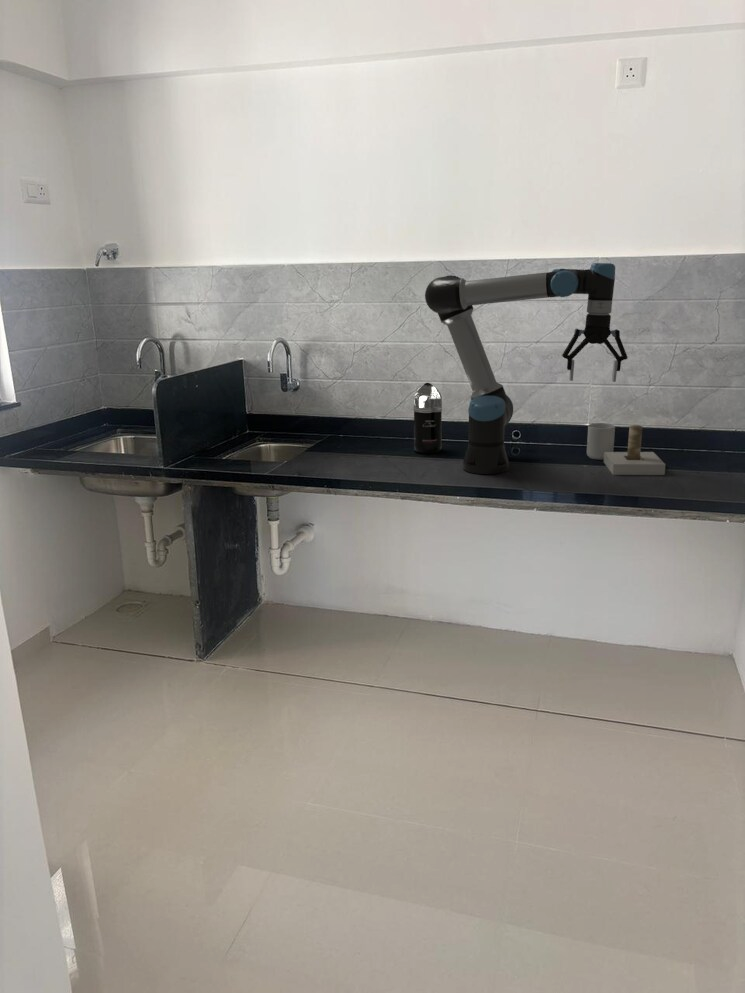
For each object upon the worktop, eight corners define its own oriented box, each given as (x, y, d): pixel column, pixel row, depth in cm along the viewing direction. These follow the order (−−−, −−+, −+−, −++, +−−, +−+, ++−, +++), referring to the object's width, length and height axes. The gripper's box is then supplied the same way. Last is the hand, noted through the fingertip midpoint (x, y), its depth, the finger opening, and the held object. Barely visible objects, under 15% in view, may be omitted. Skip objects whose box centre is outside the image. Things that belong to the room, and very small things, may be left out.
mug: (613, 461, 266) (615, 428, 262) (586, 459, 268) (588, 428, 265) (612, 452, 277) (614, 421, 273) (586, 451, 279) (588, 420, 276)
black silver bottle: (411, 448, 289) (411, 381, 282) (439, 447, 290) (439, 379, 283) (416, 455, 280) (415, 385, 272) (444, 453, 281) (444, 384, 273)
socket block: (612, 474, 250) (613, 464, 248) (603, 461, 265) (604, 451, 264) (664, 475, 248) (665, 464, 247) (652, 462, 263) (653, 451, 262)
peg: (627, 469, 255) (630, 427, 250) (625, 466, 258) (628, 425, 254) (640, 469, 254) (643, 427, 250) (637, 466, 258) (640, 425, 254)
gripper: (560, 314, 245) (554, 381, 252) (641, 315, 243) (634, 383, 249) (557, 312, 252) (552, 377, 259) (636, 313, 250) (629, 379, 256)
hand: (592, 380), depth 254 cm, fingers open, 13 cm apart
